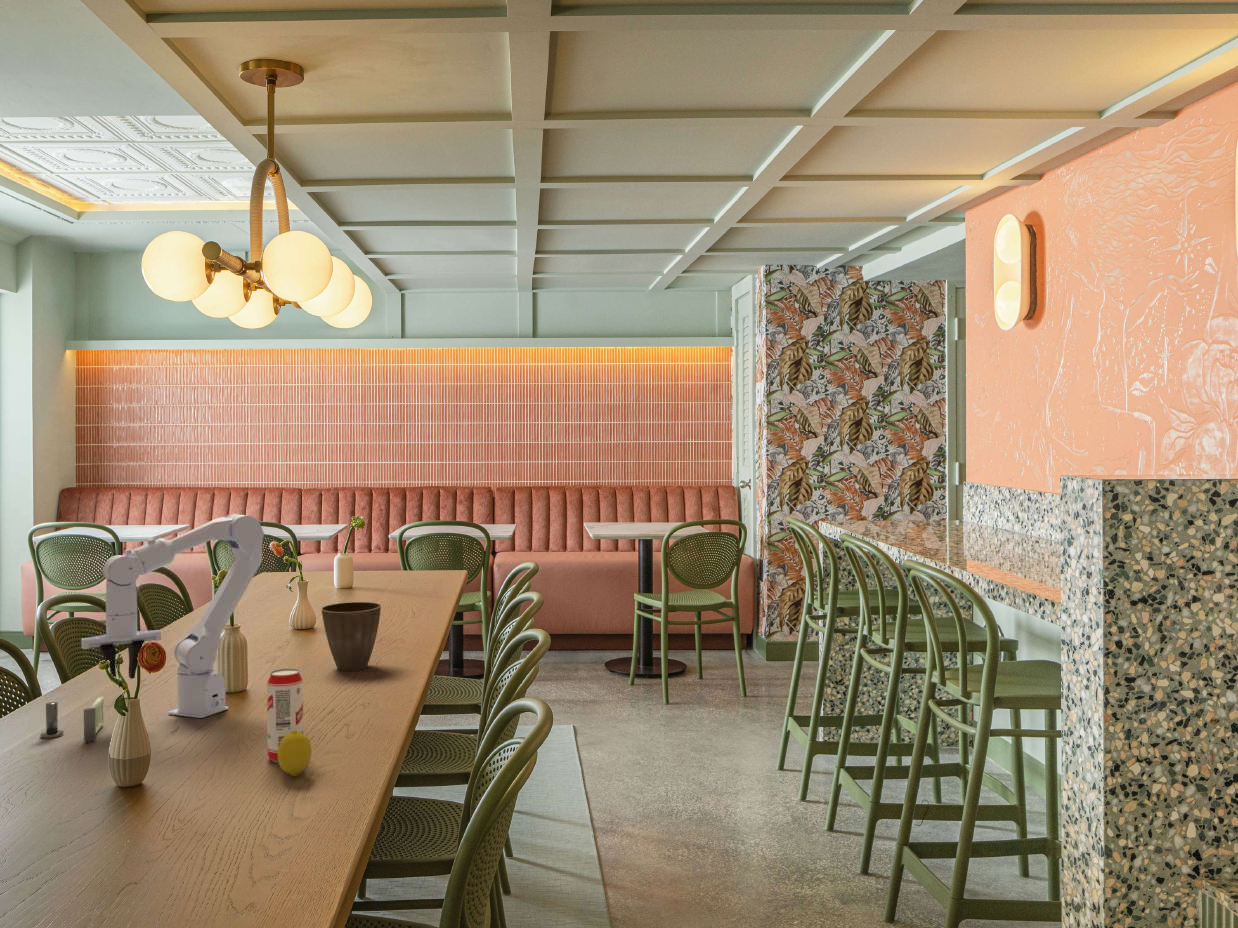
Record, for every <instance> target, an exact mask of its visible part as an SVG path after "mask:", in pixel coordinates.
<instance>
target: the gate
mask: <svg viewBox="0 0 1238 928" xmlns="http://www.w3.org/2000/svg"><path fill="white" fill-rule="evenodd" d="M104 723H105V696H98V697H97V699H96V700H95V702H93V704H92V705H91V706H90V707H88V708H84V709H83V741H84V742H93V741H96V740H97V737H96V735H97V733H98V731H99V730H100V728H101V727H103V725H104Z"/></svg>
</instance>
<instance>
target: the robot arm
mask: <svg viewBox="0 0 1238 928" xmlns="http://www.w3.org/2000/svg"><path fill="white" fill-rule="evenodd" d="M264 536H265V532H264V530H263V528H262V525H261V523H260V521H259V520H258V519H257V518H256V517H255V516H252V515H249V514H248V515H246V514H245V515H242V514H239V513H235V512H234V513H230V514H227V515H226V516H221V517H217V518H215V519H213V520H210V521H208V522H206V523H204V524H202V525H199V526H197V527H195V528H193V529H191V530H189V531H186V532H185V533H183V534H180V535H178V536H176V537H174V538H171V539H169V540H166V539H164V538H161V537H159V538H157V539H156V538H154V537H152V538H149V539H148V540H147V543H145V544H143V545H140V546H137V547H136V548H134V549H131V548H128V549H125V550H124V555H122V554H120V555H119V554H118V555H113V556H111V557H110V558H108V559H107V560H106V561H105V562H104V564H103V568H102V569H101V573H102V576H103V578H105V579H106V585H105V589H106V591H105V626H106V627H105V629H106V631H105V634H102V635H97V636H96V635H95V636H91V637H84V638H83V637H82V638H81V649H82V650H88V649H93V648H98V650H99V652H100V654H101V655H102V657H103V659H104V662H105V661H107V660H109V661H110V668H111V671H112V674H113V676H115V677H116V678H117V670H116V658H117V650H116V649H115V646H117V645H124V644H127V649H128V678H129V679H131V680H133V679H135V678H136V671H137V668H138V664H139V662H138V660H137V657H138V653H139V652H140V649H141V647H142V644H143V643H145V642H149V641H150V642H152V641H162V631H161V630H159V629H155V630H140V631H139V630H138V598H137V597H138V593H137V592H138V591H137V580H138V579H139V577H140V576H144V575H147V574H149V573H151V572H153V571H156V570H158V569H160V568H162V567H164V566H167V565H169V564H171V563H173V560H175V557H176V556H177V554H180V553H182V552H185V551H187V550H191V549H192V548H195V547H197V546H200V545H203V544H205V543H207V542H210V541H213V540H215V541H217V540H218V541H226V542H227V543H228V545H229V546H230V548H231V550H232V554H233V556H234V561H233V562H232V565H231V566H230V567H229V570H228V571H227V573H226V575H225V577H224V579H223V580H222V581H221V584H220V585H219V587H218V589H217V590H216V592H215V594H214V596H213V597H212V599H211V601H210V603H209V604H208V606H207V608H206V609H205V611H204V612H203V615H202V617H201V618H200V620H199V621H198V623H197V624H195V625H194V626H193V627H192V628H191V629H190V630H189V632H188V633H187V635H186V636H185V637H183V638H182V639H181V640H179V641H178V643H177V644H176V646H175V647H174V653H173V655H174V658H175V660H176V661H177V663H178V664H179V666H178V668H177V671H176V681H177V682H176V683H177V687H176V690H177V692H176V693H177V696H176V697H177V699H176V700H177V701H176V702H177V708H176V709H172V710H168V711H167V713H168V715H175V716H180V717H181V716H182V717H190V718H198V719H201V718H202V719H203V718H205V717H208V716H209V717H210V716H212V715H214V714H218V713H220V712H223V711H225V710H226V711H227V710H228V709H229V706H226V679H225V677H224V676H223V675H222V674H221V673H219V672H216V671H215V670H214V664H215V663H216V660H217V651H218V649H219V647H220V645H221V641H222V638H221V637H222V636H221V635H222V632H223V631H224V629H225V627H226V625H227V623H228V622H229V620H230V618H231V617H232V615H233V613H234V611H235V610H236V608H237V607H238V604H239V602H240V601H241V599H242V597H243V595H244V594H245V592H246V590H247V588H248V587H249V585H250V583H251V582H252V581H253V578H254V576H255V575H256V573H257V572H258V569H259V567H260V566H261V563H262V561H263V538H264ZM109 680H110V681H111V682H113V681H112V680H111V679H110V678H109Z"/></svg>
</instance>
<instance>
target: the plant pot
mask: <svg viewBox="0 0 1238 928" xmlns="http://www.w3.org/2000/svg"><path fill="white" fill-rule="evenodd" d="M320 609H321V616H322V620H323V621H322V622H323V626H324V631H325V636H326V640H327V643H328V647H329V650H330V652H331V656H332V658H333V661H334V663H335V666H336V668H337V670H338V669H339V671H341V670H342V672H354V671H360V670H361V669H362V670H365V669H366V668H367V667H368V665H369V662H370V659H371V657H372V653H373V650H374V646H375V643H376V638H377V634H378V630H379V624H380V618H381V610H382V604H380V603H376V602H369V601H368V602H367V601H358V602H357V601H351V602H341V603H340V602H339V603H334V604H328V605H325V606H322V607H321V608H320ZM362 670H361V671H362Z"/></svg>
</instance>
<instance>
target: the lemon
mask: <svg viewBox="0 0 1238 928" xmlns="http://www.w3.org/2000/svg"><path fill="white" fill-rule="evenodd" d="M311 759H312V747H311V743H310V740H309V738H308V737H307V735H306V734H302V733H300V732H297V731H296V730H293V731H292V732H291V733H289V734H287V735H286V736H285V737H284V738H283V739H282V740H281V742H280V745H279V748H278V762H279V763H278V765H279V766H280V768H281V770H283V772H286V773H288V774H290V775H291V776H292V777H297V776H298V775H299V774H300V773H301V772H302V771H304V770H306V768H307V767H308V766H309V764H310V762H311Z"/></svg>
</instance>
